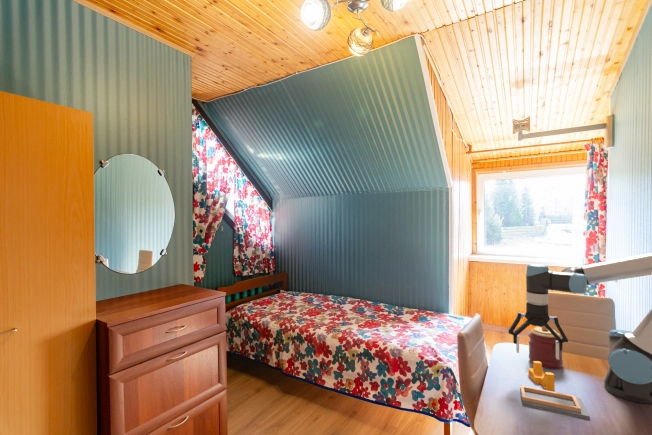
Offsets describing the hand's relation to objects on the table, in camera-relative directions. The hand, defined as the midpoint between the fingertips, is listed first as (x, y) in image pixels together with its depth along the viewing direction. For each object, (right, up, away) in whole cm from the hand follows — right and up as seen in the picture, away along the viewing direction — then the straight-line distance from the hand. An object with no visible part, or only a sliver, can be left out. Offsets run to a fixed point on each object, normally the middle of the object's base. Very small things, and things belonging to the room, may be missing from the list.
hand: (537, 354), depth 131 cm
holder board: (-4, -11, -15) cm, 19 cm away
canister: (+15, -11, +17) cm, 25 cm away
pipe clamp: (+1, -12, -1) cm, 12 cm away
